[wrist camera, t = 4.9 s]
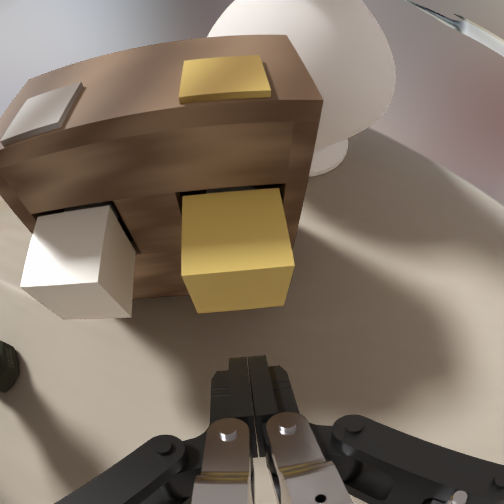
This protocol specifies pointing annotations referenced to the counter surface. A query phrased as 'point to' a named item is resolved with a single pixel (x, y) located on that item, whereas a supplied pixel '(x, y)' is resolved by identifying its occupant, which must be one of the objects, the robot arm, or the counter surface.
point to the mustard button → (235, 249)
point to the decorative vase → (327, 62)
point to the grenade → (7, 366)
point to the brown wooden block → (162, 139)
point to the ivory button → (81, 263)
